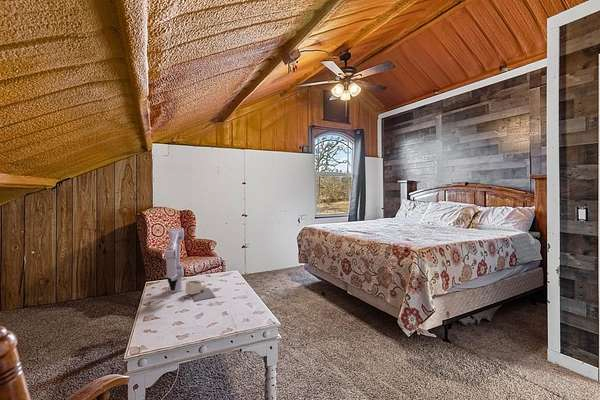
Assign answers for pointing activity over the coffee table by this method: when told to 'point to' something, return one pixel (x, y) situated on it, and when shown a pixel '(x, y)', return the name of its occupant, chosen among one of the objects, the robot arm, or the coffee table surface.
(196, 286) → the medicine box
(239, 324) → the coffee table surface
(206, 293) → the grey flat slab
